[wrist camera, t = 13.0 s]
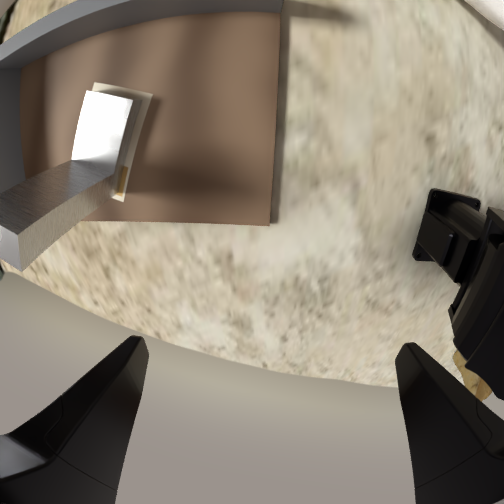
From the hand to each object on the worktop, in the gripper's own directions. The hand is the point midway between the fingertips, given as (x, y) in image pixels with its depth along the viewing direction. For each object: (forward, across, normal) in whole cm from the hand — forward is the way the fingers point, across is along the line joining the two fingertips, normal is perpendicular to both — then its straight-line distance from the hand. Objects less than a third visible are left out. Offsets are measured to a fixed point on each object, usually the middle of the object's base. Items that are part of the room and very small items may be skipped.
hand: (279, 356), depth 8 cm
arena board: (+13, +12, -8) cm, 19 cm away
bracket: (+12, +12, -5) cm, 18 cm away
